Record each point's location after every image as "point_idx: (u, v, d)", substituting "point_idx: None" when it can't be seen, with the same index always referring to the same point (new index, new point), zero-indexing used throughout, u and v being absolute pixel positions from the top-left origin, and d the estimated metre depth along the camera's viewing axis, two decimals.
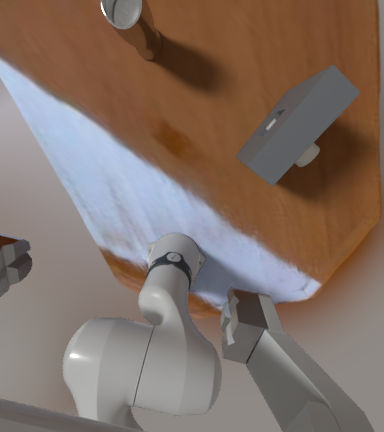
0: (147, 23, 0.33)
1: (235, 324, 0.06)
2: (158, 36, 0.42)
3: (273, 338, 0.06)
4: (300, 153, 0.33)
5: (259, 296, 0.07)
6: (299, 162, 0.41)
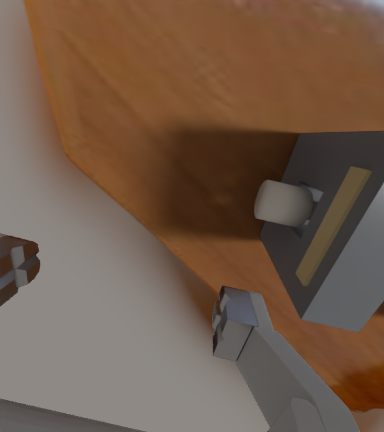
0: None
1: (225, 322, 0.06)
2: None
3: (262, 335, 0.06)
4: (364, 223, 0.16)
5: (250, 294, 0.07)
6: (281, 188, 0.23)
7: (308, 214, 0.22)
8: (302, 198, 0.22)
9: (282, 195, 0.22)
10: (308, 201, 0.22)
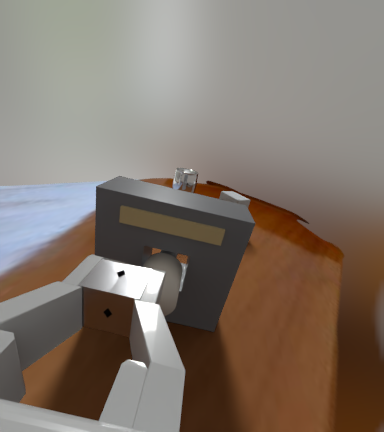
0: (186, 184, 0.55)
1: (110, 295, 0.06)
2: None
3: (137, 306, 0.06)
4: (157, 199, 0.22)
5: (152, 271, 0.07)
6: None
7: (165, 254, 0.24)
8: (150, 260, 0.23)
9: None
10: (153, 256, 0.24)
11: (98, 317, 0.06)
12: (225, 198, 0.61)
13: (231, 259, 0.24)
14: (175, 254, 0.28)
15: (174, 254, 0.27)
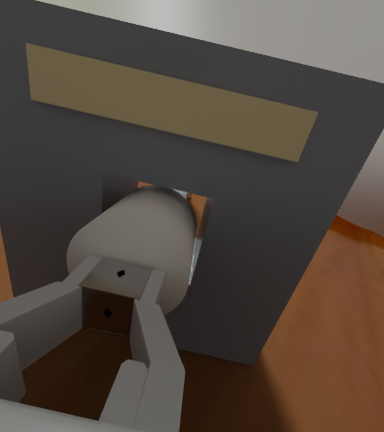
0: None
1: (110, 295, 0.06)
2: None
3: (137, 306, 0.06)
4: None
5: (152, 271, 0.07)
6: None
7: (161, 186, 0.11)
8: (127, 195, 0.11)
9: (110, 208, 0.08)
10: (135, 190, 0.11)
11: (98, 317, 0.06)
12: None
13: (316, 205, 0.10)
14: None
15: None
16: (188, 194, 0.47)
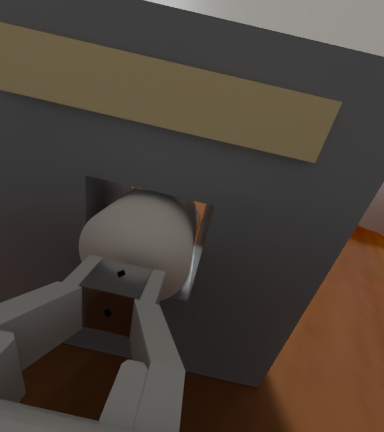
0: None
1: (110, 295, 0.06)
2: None
3: (137, 306, 0.06)
4: None
5: (152, 271, 0.07)
6: None
7: None
8: (133, 189, 0.11)
9: (118, 200, 0.09)
10: None
11: (98, 317, 0.06)
12: None
13: (334, 213, 0.08)
14: None
15: None
16: None
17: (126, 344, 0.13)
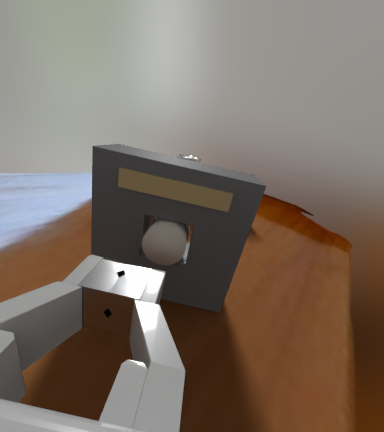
0: None
1: (110, 295, 0.06)
2: None
3: (137, 306, 0.06)
4: (159, 160, 0.20)
5: (152, 271, 0.07)
6: (150, 227, 0.23)
7: None
8: None
9: (156, 223, 0.23)
10: None
11: (98, 317, 0.06)
12: None
13: (239, 228, 0.22)
14: None
15: None
16: None
17: None
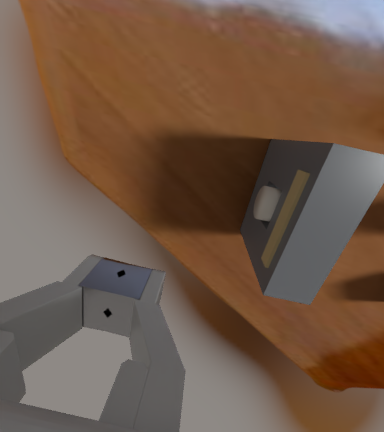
0: None
1: (110, 295, 0.06)
2: None
3: (137, 306, 0.06)
4: (304, 214, 0.20)
5: (152, 271, 0.07)
6: (276, 193, 0.27)
7: None
8: None
9: (277, 199, 0.27)
10: None
11: (98, 317, 0.06)
12: None
13: (256, 262, 0.29)
14: None
15: None
16: None
17: (256, 189, 0.36)
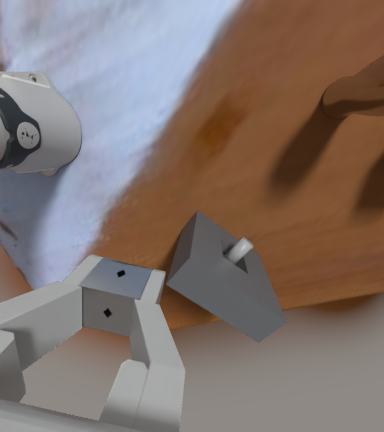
0: (381, 111, 0.24)
1: (109, 295, 0.06)
2: (346, 115, 0.32)
3: (137, 306, 0.06)
4: (204, 306, 0.30)
5: (152, 271, 0.07)
6: None
7: None
8: None
9: None
10: None
11: (98, 317, 0.06)
12: None
13: None
14: None
15: (239, 259, 0.35)
16: (344, 116, 0.33)
17: None
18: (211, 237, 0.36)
